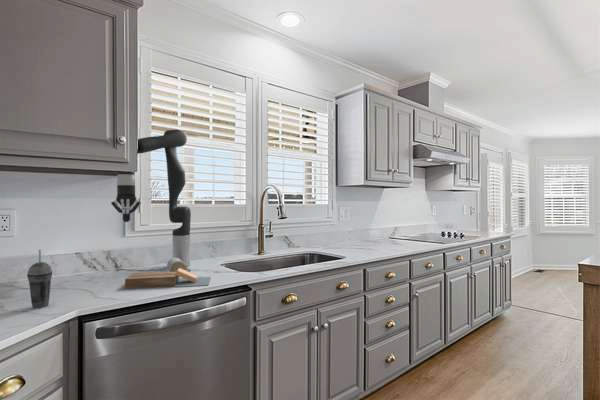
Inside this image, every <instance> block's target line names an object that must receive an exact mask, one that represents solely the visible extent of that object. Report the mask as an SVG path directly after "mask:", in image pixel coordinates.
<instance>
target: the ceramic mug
mask: <svg viewBox="0 0 600 400" xmlns="http://www.w3.org/2000/svg"><path fill="white" fill-rule="evenodd" d="M166 268H167V270H168V272H171V271H177V270H178V269H179V268H181V269H183V270H186V271H188V272H190V273H191V271H192V270H191V269H190V268H188V267H187V266H185V264H184V262H183V261H181V260H180V259H179V258H173V257H172V258H170V259H169V260H168V262H167V263H166Z"/></svg>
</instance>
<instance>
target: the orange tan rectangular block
mask: <svg viewBox="0 0 600 400" xmlns="http://www.w3.org/2000/svg"><path fill="white" fill-rule="evenodd" d="M175 275H177V276H179V278H184V279H187V280H189V281H192V282H194V283H195V281H196V278H197V277H198V276H199V275H197V274H195V273H192V272H191V271H190V272H188V271H186V270H183V269H181V268H179V269H178V270H177V272H176V274H175Z"/></svg>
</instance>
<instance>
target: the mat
mask: <svg viewBox="0 0 600 400" xmlns="http://www.w3.org/2000/svg"><path fill="white" fill-rule="evenodd" d="M210 282H211V276H199V277H198V276H197V278H196V281H195V283H194V282H192V281H189V280H187V279H184V278H182V277H179V280H178V282H177V283H176V285H175V286H173V287H174V288H186V287H187V288H189V287H204V286H205V287H207V286H209V284H210Z"/></svg>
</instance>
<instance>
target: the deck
mask: <svg viewBox="0 0 600 400" xmlns="http://www.w3.org/2000/svg"><path fill="white" fill-rule="evenodd" d="M176 272H177V271H171V272H170V271H155V272H154V271H151V272H132V274H130V275H129V276H127V277H126V278H125V279H124V289H125V290H127V289H144V288H145V289H146V288H165V287H166V288H167V287H174V286H175V285H176V283H177V282H178V280H179V279H180V277H179V276H177V275H175V274H176Z"/></svg>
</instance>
